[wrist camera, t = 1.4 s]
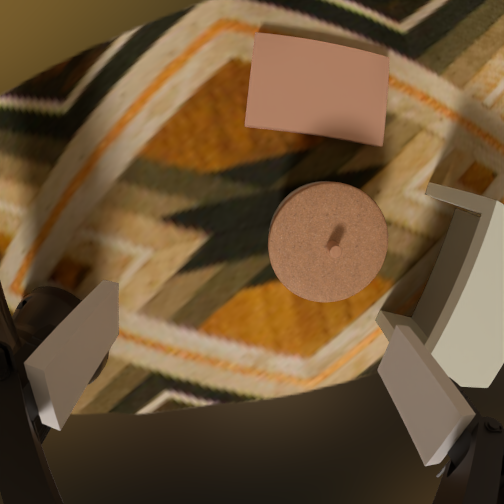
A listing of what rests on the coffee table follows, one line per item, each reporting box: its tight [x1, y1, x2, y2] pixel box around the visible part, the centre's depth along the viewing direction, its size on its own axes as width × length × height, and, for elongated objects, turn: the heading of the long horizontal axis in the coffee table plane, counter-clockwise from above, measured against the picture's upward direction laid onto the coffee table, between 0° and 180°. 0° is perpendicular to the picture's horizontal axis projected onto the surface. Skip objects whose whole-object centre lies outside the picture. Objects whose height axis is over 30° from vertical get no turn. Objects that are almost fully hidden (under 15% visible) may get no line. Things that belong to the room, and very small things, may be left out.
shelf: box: [375, 182, 504, 388], centre depth 30 cm, size 12×18×12 cm, turn 164°
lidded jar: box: [268, 181, 388, 302], centre depth 30 cm, size 11×11×9 cm
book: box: [245, 32, 389, 146], centre depth 30 cm, size 14×10×2 cm
